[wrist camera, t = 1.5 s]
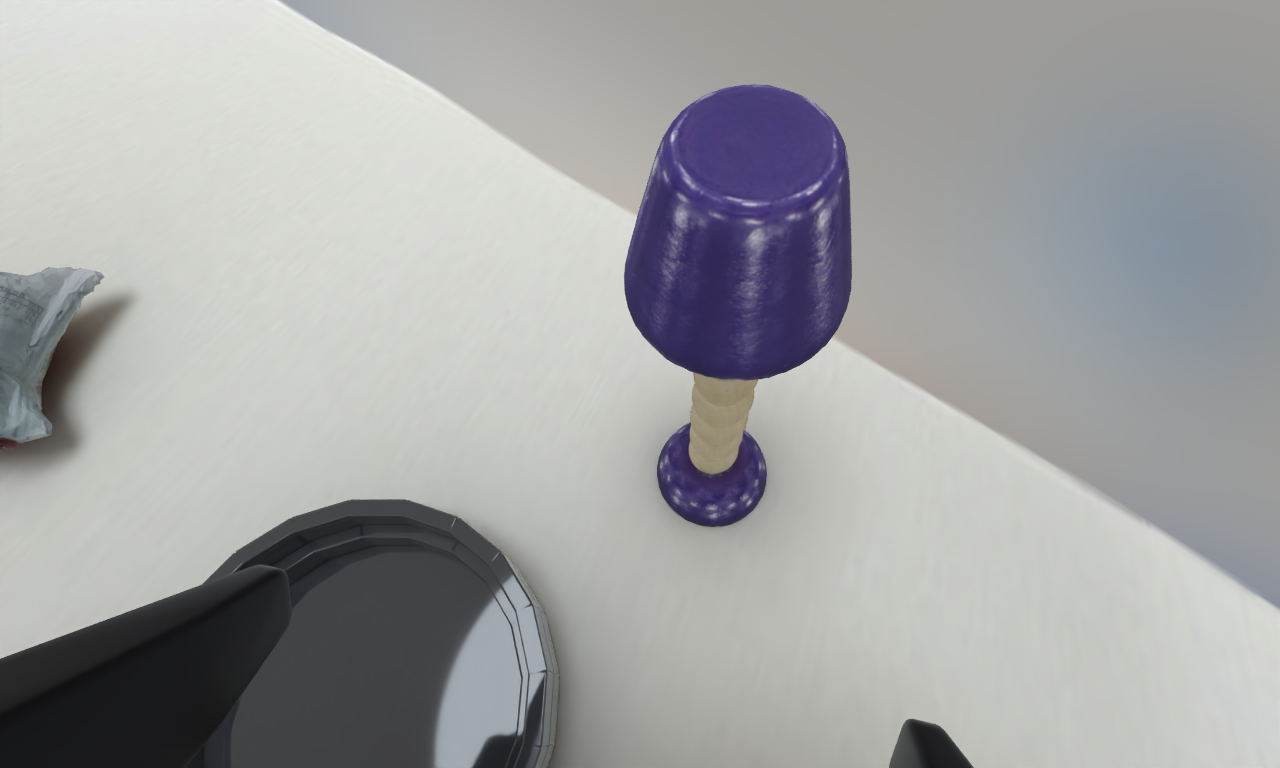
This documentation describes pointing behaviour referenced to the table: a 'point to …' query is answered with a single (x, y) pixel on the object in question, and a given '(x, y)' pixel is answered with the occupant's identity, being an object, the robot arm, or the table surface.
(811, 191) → the toy lamp
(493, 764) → the pan
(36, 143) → the table surface
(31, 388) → the packaged food
